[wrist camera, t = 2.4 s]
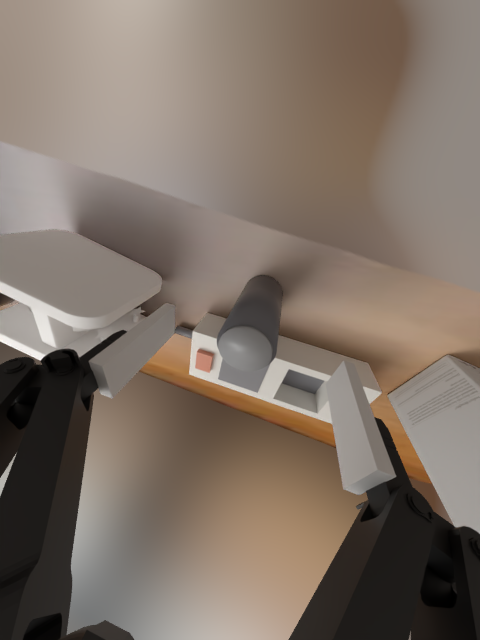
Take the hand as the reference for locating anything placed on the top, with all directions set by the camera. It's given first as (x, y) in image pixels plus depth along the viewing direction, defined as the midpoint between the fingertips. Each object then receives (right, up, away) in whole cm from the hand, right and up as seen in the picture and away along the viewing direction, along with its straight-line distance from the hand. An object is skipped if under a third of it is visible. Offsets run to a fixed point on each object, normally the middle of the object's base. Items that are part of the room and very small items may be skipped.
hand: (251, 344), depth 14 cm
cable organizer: (-18, +7, +12) cm, 23 cm away
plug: (+2, +5, +8) cm, 10 cm away
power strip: (+2, -3, +13) cm, 13 cm away
